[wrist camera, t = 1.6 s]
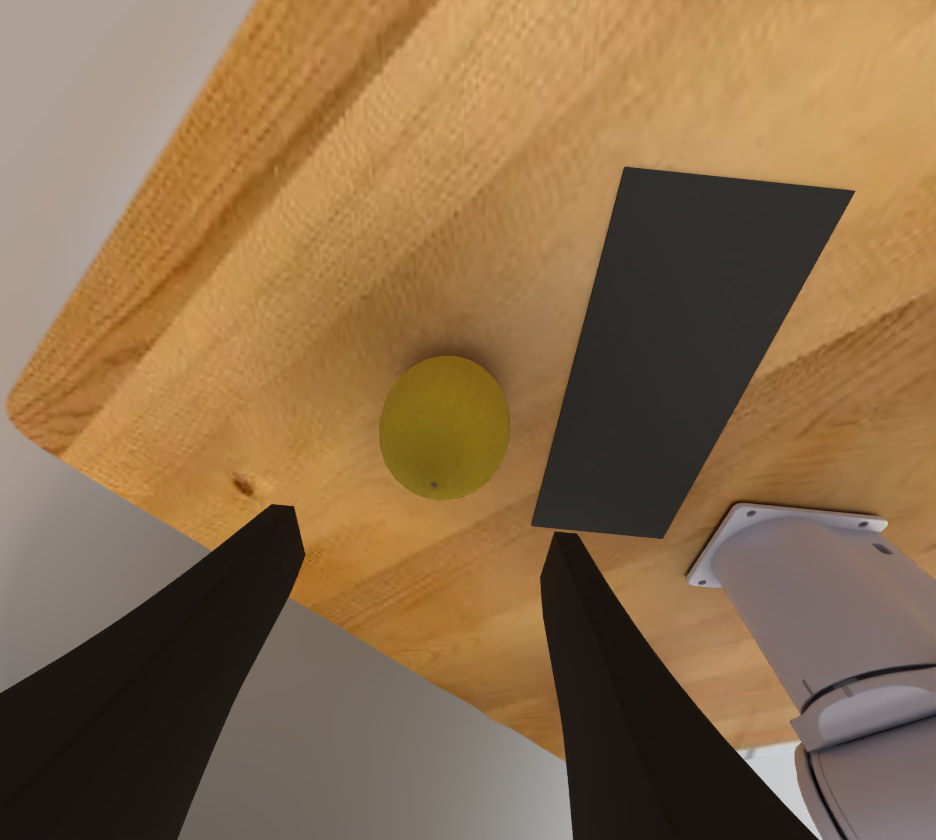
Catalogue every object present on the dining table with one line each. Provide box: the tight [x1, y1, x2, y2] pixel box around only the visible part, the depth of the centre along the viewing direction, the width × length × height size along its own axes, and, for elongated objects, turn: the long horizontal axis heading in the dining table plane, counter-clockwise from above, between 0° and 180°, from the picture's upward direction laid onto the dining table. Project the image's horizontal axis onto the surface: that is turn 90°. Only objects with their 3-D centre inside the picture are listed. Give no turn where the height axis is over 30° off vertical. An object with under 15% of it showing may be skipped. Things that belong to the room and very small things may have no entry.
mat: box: [531, 167, 855, 539], centre depth 19 cm, size 9×20×1 cm, turn 175°
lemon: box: [380, 356, 510, 500], centre depth 15 cm, size 6×6×8 cm
